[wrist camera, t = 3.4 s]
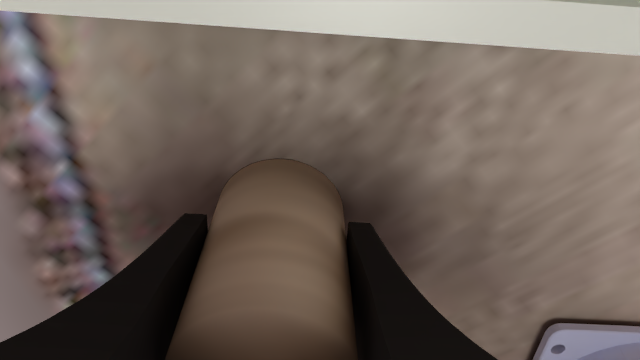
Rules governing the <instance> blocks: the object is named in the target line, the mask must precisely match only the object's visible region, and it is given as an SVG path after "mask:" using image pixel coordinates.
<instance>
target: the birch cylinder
mask: <svg viewBox="0 0 640 360" xmlns="http://www.w3.org/2000/svg"><path fill="white" fill-rule="evenodd" d="M165 360H358V355H357V345H356V334H355V324H354V314H353V304H352V294H351V283H350V273H349V263H348V253H347V243H346V232H345V222H344V212H343V204H342V200H341V197H340V195H339V193H338V191H337V189H336V188H335V186H334V185H333V183H332V182H331V181H330V180H329V179H328V178H327V177H326V176H325V175H324V174H323V173H321V172H320V171H318V170H317V169H315V168H313V167H311V166H309V165H307V164H304V163H301V162H297V161H293V160H286V159H271V160H264V161H260V162H256V163H253V164H251V165H248V166H246V167H245V168H243V169H241V170H240V171H238V172H237V173H236V174H234V175H233V176H232V177H231V178H230V179H229V181H228V182H227V183H226V185H225V186H224V188H223V190H222V192H221V195H220V197H219V200H218V203H217V206H216V209H215V212H214V215H213V218H212V221H211V224H210V227H209V230H208V233H207V236H206V239H205V242H204V245H203V248H202V251H201V254H200V257H199V260H198V263H197V266H196V269H195V272H194V275H193V278H192V281H191V284H190V287H189V290H188V293H187V295H186V298H185V301H184V304H183V307H182V310H181V313H180V316H179V319H178V322H177V325H176V328H175V331H174V334H173V337H172V340H171V343H170V346H169V349H168V352H167V355H166V358H165Z"/></svg>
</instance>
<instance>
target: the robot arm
mask: <svg viewBox="0 0 640 360" xmlns="http://www.w3.org/2000/svg"><path fill="white" fill-rule="evenodd" d="M207 233H208V228H207V215H204V214H184V215H183V216H182V217H180V218H179V219H178V220H177V221H176V222H175V223H174V224H173V225H172V226H171V227H170V228H169V229H168V230H167V231H166V232H165V233H164V234H163V235H162V236H161V237H160V238H159V239H158V240H157V241H155V242H154V243H153V244H152V245H151V246H150V247H149V248H148V249H147V250H146V251H144V252H143V253H142V254H141V255H140V256H139V257H138V258H137V259H135V260H134V261H133V262H132V263H131V264H129V265H128V266H127V267H126V268H124V269H123V270H122V271H121V272H119V273H118V274H117V275H116V276H115V277H113V278H112V279H111V280H109V281H108V282H106V283H105V284H104V285H102V286H101V287H99V288H98V289H96V290H95V291H93V292H92V293H90V294H89V295H87V296H86V297H84V298H83V299H81V300H80V301H78V302H76V303H75V304H73V305H71V306H69V307H68V308H66V309H64V310H63V311H61V312H59V313H57V314H56V315H54V316H52V317H51V318H49V319H47V320H45V321H43V322H41V323H39V324H37V325H36V326H34V327H32V328H30V329H28V330H26V331H24V332H22V333H19V334H18V335H15V336H13V337H11V338H9V339H7V340H5V341H3V342H0V360H165V358H166V355H167V352H168V349H169V346H170V343H171V340H172V337H173V334H174V331H175V328H176V325H177V322H178V319H179V316H180V313H181V310H182V307H183V304H184V301H185V298H186V295H187V293H188V290H189V287H190V284H191V281H192V278H193V275H194V272H195V269H196V266H197V263H198V260H199V257H200V254H201V251H202V248H203V245H204V242H205V239H206V236H207ZM346 243H347V253H348V263H349V273H350V283H351V294H352V304H353V314H354V324H355V334H356V345H357V355H358V360H497V359H496V358H495V357H493V356H492V355H490V354H489V353H488V352H486V351H485V350H483V349H482V348H481V347H479V346H478V345H477V344H475V343H474V342H473V341H471V340H470V339H469V338H468V337H466V336H465V335H464V334H463V333H462V332H461V331H459V330H458V329H457V328H456V327H455V326H453V325H452V324H451V323H450V322H449V321H448V320H447V319H445V318H444V317H443V316H442V315H441V314H440V313H439V312H438V311H437V310H436V309H435V308H434V307H433V306H432V305H431V304H430V303H429V302H428V301H427V300H426V299H425V297H424V296H423V295H422V294H421V293H420V292H419V291H418V290H417V288H416V287H415V286H414V285H413V284H412V282H411V281H410V280H409V279H408V277H407V276H406V275H405V274H404V272H403V271H402V270H401V268H400V267H399V266H398V264H397V263H396V261H395V260H394V259H393V257H392V256H391V254H390V253H389V252H388V250H387V249H386V247H385V245H384V244H383V242H382V241H381V239H380V238H379V236H378V234H377V233H376V231H375V229H374V228H373V226H372V225H371V224H370V223H356V222H349V224H348V232H347V240H346ZM533 360H640V326H619V325H596V324H573V323H557V324H554V325H552V326H550V327H549V328H548V329H547V330H546V332H545V333H544V336H543V338H542V340H541V342H540V345H539V347H538V349H537V351H536V353H535V356H534V358H533Z"/></svg>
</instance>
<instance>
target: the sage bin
mask: <svg viewBox="0 0 640 360" xmlns="http://www.w3.org/2000/svg"><path fill="white" fill-rule="evenodd" d="M0 11H15V12H29V13H43V14H57V15H71V16H85V17H99V18H114V19H128V20H142V21H156V22H170V23H184V24H199V25H213V26H227V27H241V28H255V29H269V30H283V31H298V32H312V33H326V34H340V35H354V36H368V37H382V38H397V39H411V40H425V41H439V42H453V43H467V44H482V45H496V46H510V47H524V48H538V49H552V50H566V51H581V52H595V53H609V54H623V55H637V56H640V0H0Z"/></svg>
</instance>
